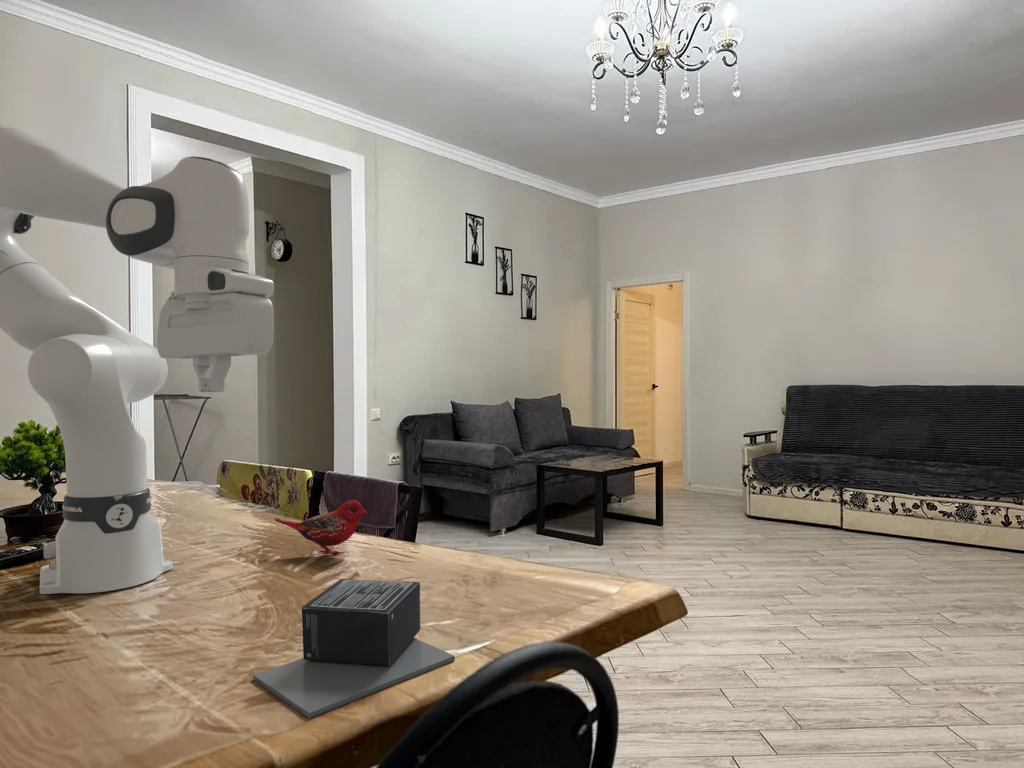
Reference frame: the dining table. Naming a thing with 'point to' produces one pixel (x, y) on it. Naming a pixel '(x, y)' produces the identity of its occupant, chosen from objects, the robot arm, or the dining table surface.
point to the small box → (361, 621)
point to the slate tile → (345, 678)
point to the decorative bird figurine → (330, 526)
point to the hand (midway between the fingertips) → (211, 392)
